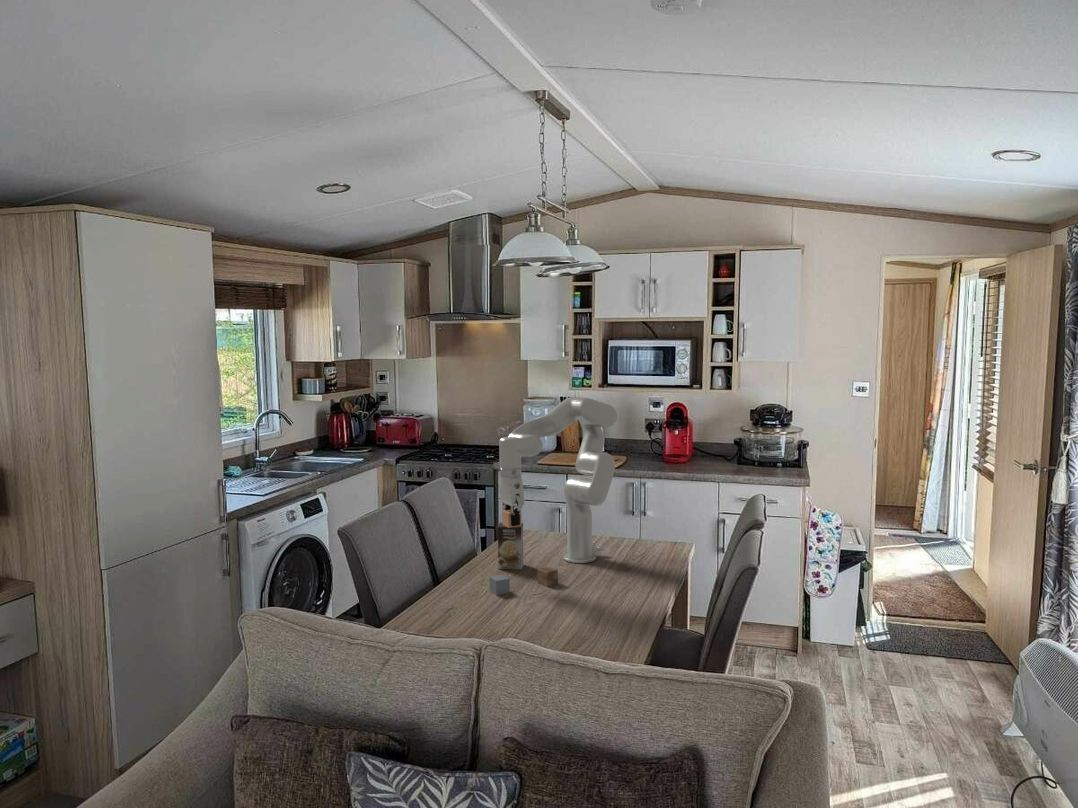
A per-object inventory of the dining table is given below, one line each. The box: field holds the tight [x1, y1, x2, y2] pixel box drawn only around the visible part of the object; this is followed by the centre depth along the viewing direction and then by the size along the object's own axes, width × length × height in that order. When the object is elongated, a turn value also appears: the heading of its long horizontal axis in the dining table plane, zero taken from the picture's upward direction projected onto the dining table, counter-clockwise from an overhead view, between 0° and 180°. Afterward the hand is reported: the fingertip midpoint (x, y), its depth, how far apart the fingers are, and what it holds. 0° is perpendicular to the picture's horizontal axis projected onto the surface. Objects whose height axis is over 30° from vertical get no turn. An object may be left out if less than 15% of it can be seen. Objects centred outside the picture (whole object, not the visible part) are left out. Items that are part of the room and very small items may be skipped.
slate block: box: [489, 573, 511, 596], centre depth 254 cm, size 5×5×5 cm
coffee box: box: [497, 522, 524, 570], centre depth 280 cm, size 9×6×16 cm
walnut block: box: [537, 565, 559, 587], centre depth 262 cm, size 5×5×5 cm
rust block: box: [501, 508, 522, 528], centre depth 263 cm, size 5×5×5 cm
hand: (511, 523), depth 263 cm, fingers closed on rust block, 5 cm apart
